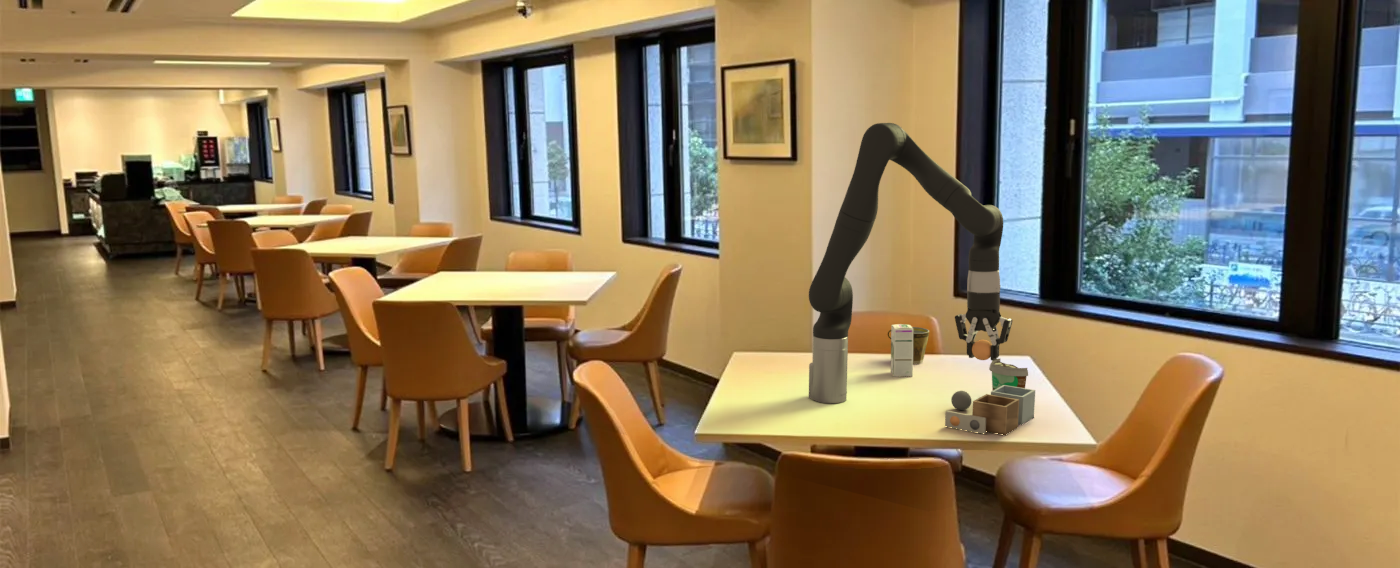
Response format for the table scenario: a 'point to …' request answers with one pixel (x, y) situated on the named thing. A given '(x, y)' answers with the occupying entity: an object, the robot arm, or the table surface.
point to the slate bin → (1024, 397)
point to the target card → (965, 422)
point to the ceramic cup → (918, 343)
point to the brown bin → (997, 413)
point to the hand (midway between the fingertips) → (982, 358)
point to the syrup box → (902, 350)
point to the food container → (1007, 375)
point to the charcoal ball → (961, 400)
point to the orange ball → (982, 349)
